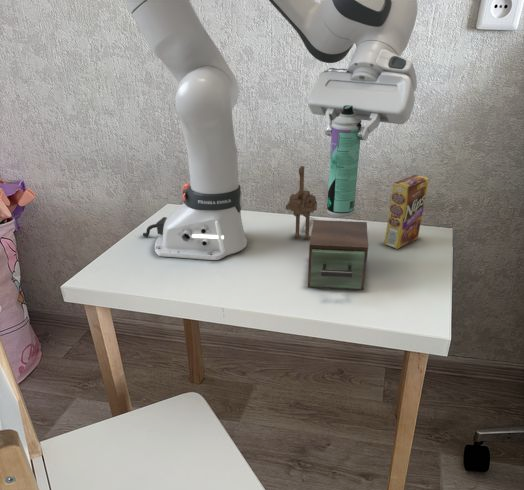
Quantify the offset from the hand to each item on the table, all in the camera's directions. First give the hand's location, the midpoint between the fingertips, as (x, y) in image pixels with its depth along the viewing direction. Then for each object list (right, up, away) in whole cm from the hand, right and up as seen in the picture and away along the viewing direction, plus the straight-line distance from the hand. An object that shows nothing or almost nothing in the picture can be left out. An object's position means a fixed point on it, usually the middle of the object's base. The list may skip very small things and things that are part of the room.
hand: (344, 136), depth 99 cm
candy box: (+19, -14, +31) cm, 39 cm away
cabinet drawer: (0, -25, +13) cm, 28 cm away
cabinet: (+1, -23, +17) cm, 29 cm away
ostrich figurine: (-4, -9, +38) cm, 39 cm away
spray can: (0, -12, +9) cm, 15 cm away
